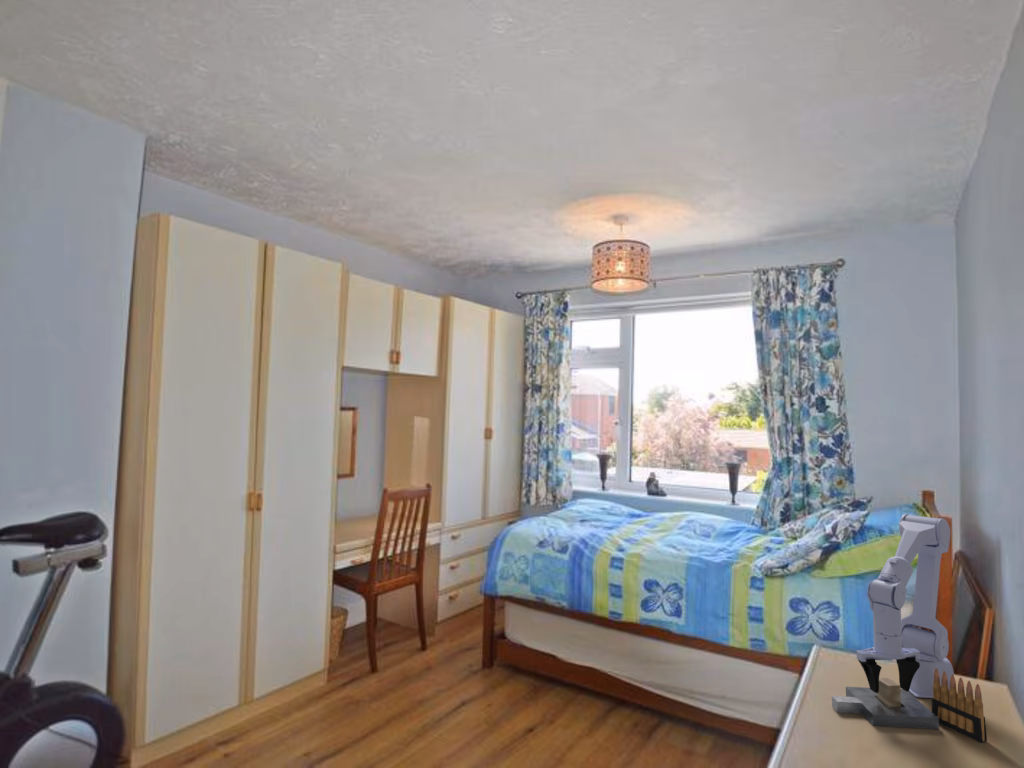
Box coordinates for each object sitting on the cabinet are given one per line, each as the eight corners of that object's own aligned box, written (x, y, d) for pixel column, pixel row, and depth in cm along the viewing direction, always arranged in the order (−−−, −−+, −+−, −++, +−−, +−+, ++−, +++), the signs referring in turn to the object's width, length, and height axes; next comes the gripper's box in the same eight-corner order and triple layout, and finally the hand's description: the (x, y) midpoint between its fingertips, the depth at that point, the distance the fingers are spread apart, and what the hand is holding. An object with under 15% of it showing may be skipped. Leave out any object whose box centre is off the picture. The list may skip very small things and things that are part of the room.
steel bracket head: (905, 699, 149) (905, 689, 149) (939, 729, 135) (938, 717, 135) (822, 695, 151) (822, 685, 151) (847, 724, 137) (847, 713, 137)
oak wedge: (889, 707, 145) (888, 677, 145) (901, 715, 141) (900, 685, 142) (877, 707, 145) (876, 678, 145) (889, 716, 141) (888, 685, 141)
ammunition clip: (987, 741, 130) (985, 685, 131) (981, 743, 129) (979, 686, 130) (936, 718, 140) (934, 665, 140) (931, 720, 139) (929, 667, 140)
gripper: (904, 625, 148) (906, 681, 148) (847, 627, 147) (849, 683, 147) (925, 635, 141) (928, 694, 141) (867, 638, 140) (868, 697, 139)
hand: (889, 690), depth 143 cm, fingers open, 7 cm apart
